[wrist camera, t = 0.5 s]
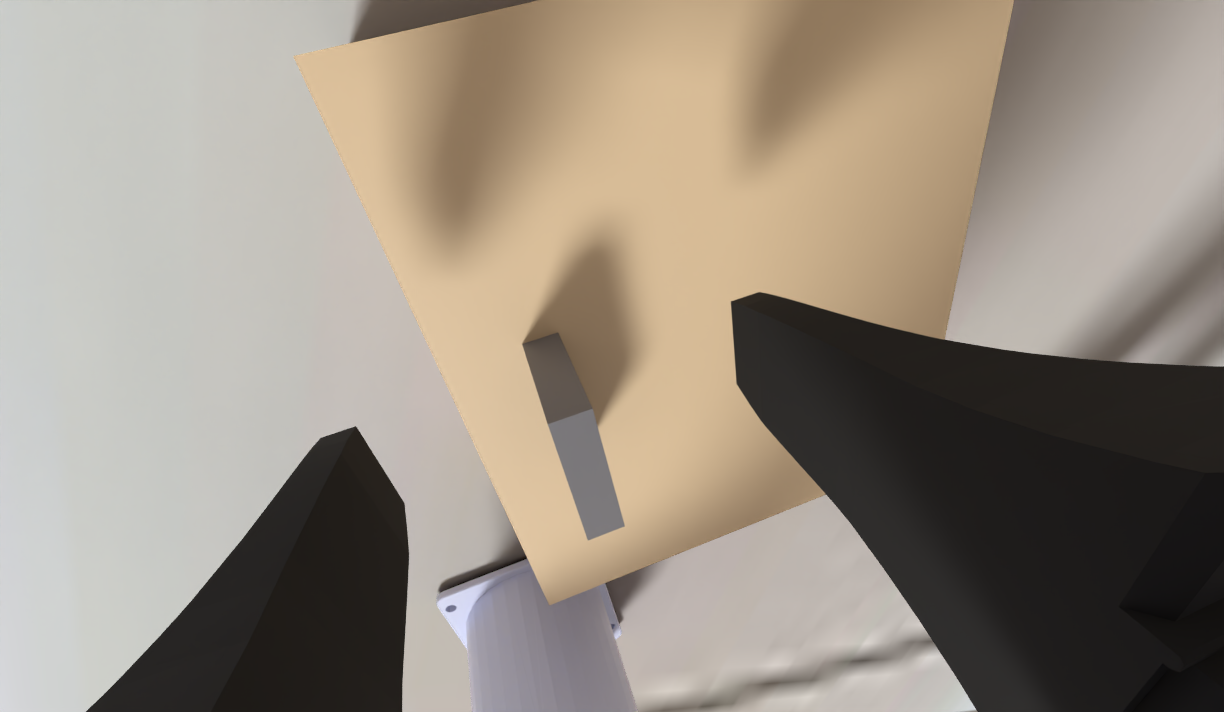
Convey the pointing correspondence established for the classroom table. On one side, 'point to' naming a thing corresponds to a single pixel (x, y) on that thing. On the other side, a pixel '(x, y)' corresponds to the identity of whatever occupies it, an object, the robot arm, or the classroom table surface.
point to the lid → (656, 231)
